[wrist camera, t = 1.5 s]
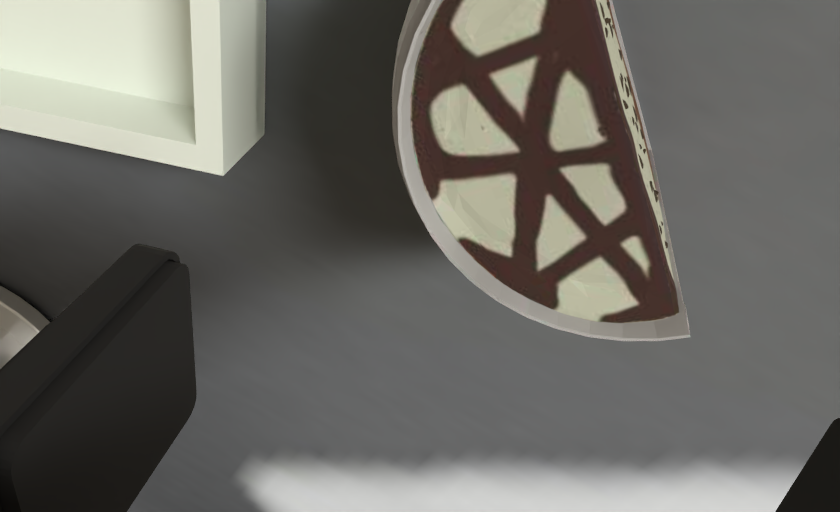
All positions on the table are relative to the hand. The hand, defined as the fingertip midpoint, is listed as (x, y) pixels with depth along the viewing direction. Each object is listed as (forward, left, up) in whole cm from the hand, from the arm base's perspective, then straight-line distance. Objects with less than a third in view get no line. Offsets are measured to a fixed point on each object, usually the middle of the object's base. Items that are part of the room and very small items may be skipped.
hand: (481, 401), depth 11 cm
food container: (0, 0, -18) cm, 18 cm away
